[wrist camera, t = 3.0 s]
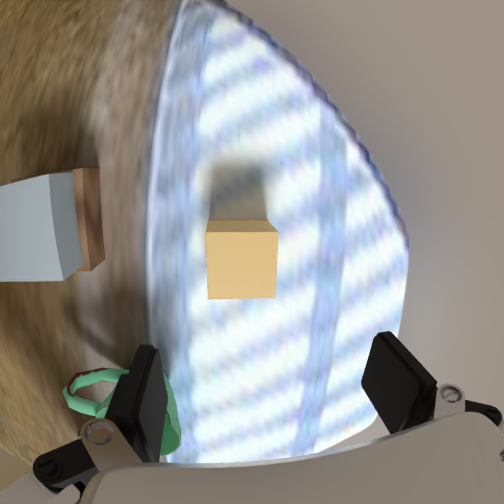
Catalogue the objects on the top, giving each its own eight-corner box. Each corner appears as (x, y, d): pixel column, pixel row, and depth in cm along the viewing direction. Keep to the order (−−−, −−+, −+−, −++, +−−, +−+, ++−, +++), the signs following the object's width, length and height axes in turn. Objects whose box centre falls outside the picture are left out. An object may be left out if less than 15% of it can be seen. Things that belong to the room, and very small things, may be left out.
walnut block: (106, 257, 29) (91, 271, 25) (40, 258, 28) (20, 270, 24) (100, 167, 26) (82, 168, 22) (32, 177, 25) (10, 180, 21)
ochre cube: (265, 274, 31) (275, 297, 25) (209, 275, 31) (207, 299, 25) (267, 220, 30) (278, 232, 24) (208, 220, 29) (206, 232, 23)
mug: (194, 362, 33) (189, 421, 24) (178, 409, 36) (173, 463, 26) (86, 326, 31) (53, 374, 21) (84, 378, 33) (60, 425, 23)
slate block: (84, 264, 24) (63, 280, 20) (22, 267, 24) (-1, 281, 19) (73, 172, 22) (48, 174, 18) (10, 186, 21) (-16, 191, 17)
